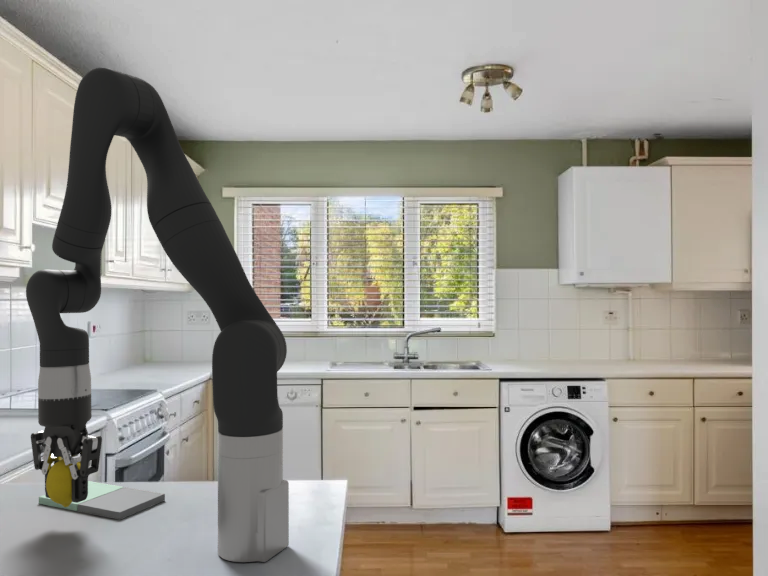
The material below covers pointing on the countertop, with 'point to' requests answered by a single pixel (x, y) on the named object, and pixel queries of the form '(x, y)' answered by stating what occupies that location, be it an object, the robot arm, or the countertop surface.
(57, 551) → the countertop surface
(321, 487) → the countertop surface
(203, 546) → the countertop surface
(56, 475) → the lemon
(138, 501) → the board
